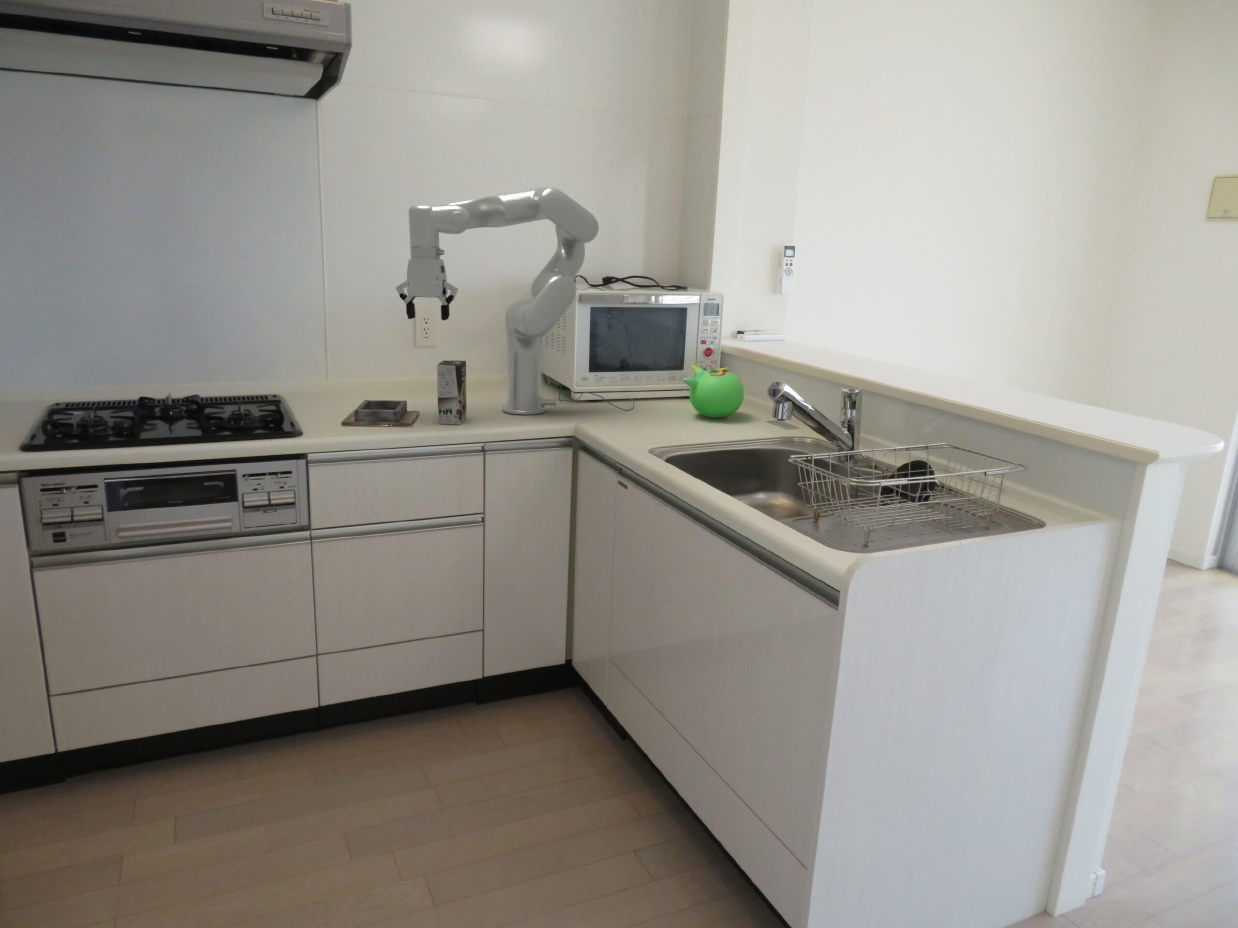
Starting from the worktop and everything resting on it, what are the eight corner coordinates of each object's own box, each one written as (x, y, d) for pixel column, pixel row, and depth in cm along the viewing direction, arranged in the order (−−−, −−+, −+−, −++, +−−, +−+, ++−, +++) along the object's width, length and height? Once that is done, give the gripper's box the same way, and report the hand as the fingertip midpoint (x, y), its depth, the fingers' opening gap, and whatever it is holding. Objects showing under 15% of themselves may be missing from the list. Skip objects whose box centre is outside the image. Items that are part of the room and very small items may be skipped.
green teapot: (740, 425, 252) (743, 373, 248) (680, 420, 255) (682, 369, 251) (744, 412, 269) (747, 364, 265) (688, 408, 272) (690, 360, 268)
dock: (419, 414, 252) (419, 400, 251) (411, 426, 237) (410, 411, 236) (354, 413, 251) (353, 399, 250) (341, 425, 235) (340, 410, 234)
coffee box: (461, 425, 241) (460, 365, 237) (437, 424, 241) (436, 364, 237) (467, 418, 250) (466, 360, 246) (444, 417, 250) (443, 359, 246)
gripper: (461, 254, 239) (463, 318, 243) (401, 252, 243) (404, 316, 247) (450, 255, 232) (452, 322, 236) (388, 253, 235) (392, 319, 240)
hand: (428, 319), depth 242 cm, fingers open, 9 cm apart
